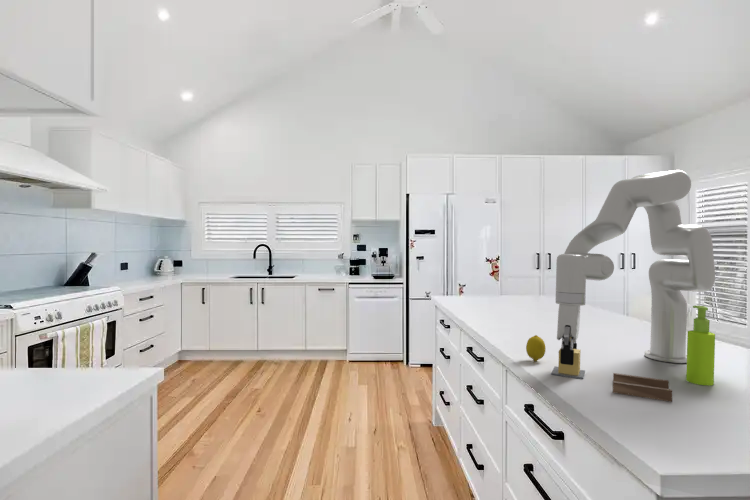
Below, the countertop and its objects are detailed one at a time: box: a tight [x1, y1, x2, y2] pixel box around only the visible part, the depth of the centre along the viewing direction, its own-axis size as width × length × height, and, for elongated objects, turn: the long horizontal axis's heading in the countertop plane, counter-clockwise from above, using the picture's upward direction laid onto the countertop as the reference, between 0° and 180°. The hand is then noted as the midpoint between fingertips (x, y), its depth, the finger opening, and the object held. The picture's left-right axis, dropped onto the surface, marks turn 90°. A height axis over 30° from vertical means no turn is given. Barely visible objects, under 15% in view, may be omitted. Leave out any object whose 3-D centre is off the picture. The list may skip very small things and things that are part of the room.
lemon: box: [525, 334, 546, 362], centre depth 137 cm, size 6×6×8 cm
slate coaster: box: [550, 366, 586, 380], centre depth 124 cm, size 8×8×1 cm
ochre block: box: [557, 348, 581, 375], centre depth 124 cm, size 5×5×6 cm
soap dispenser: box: [685, 305, 716, 387], centre depth 119 cm, size 6×7×20 cm
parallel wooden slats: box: [612, 372, 673, 403], centre depth 110 cm, size 9×12×2 cm
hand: (568, 360), depth 124 cm, fingers open, 9 cm apart
